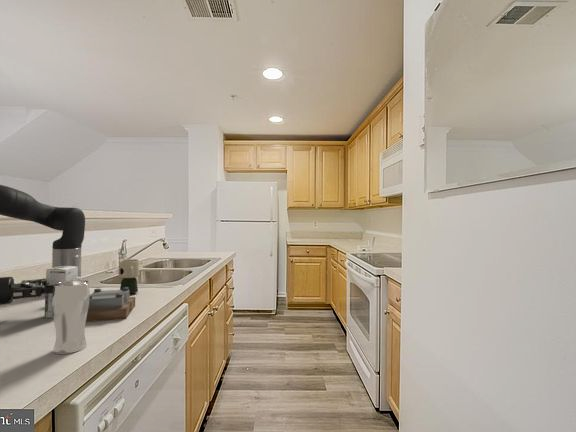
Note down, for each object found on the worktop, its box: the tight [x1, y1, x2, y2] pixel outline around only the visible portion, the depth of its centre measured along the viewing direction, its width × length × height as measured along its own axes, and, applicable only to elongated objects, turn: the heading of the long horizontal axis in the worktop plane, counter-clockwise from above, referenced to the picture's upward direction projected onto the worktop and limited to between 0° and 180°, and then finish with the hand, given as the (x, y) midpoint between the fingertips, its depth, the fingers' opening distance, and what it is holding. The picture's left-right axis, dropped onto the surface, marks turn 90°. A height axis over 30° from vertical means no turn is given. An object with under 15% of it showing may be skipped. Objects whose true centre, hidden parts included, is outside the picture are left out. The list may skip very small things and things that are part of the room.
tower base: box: [86, 287, 136, 323], centre depth 92 cm, size 13×13×7 cm
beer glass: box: [52, 279, 91, 355], centre depth 68 cm, size 7×7×15 cm
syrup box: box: [44, 266, 78, 319], centre depth 90 cm, size 6×6×14 cm
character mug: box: [118, 258, 141, 296], centre depth 115 cm, size 11×7×13 cm, turn 36°
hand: (63, 285), depth 90 cm, fingers open, 8 cm apart
